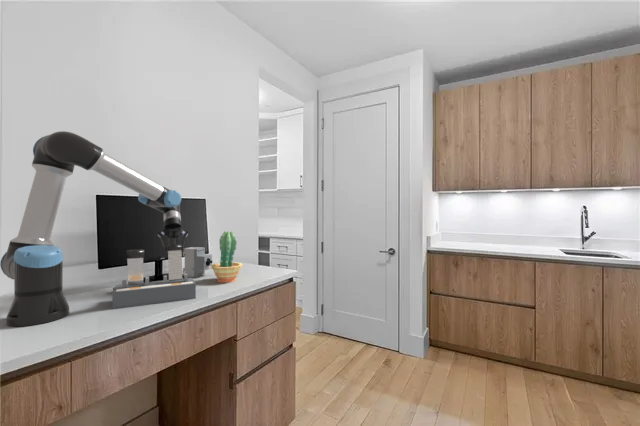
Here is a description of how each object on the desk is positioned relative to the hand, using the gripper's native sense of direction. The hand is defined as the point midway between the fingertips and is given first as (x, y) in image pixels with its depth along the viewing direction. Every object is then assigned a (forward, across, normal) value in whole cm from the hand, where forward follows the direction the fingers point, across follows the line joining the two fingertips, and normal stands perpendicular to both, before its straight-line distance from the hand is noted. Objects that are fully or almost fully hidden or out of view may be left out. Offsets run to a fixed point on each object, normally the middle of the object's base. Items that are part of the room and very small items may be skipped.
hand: (175, 262), depth 131 cm
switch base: (+14, +7, -5) cm, 16 cm away
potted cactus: (0, -25, -19) cm, 31 cm away
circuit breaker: (-13, -14, -32) cm, 37 cm away
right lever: (+9, 0, 0) cm, 9 cm away
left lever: (+9, +14, 0) cm, 17 cm away
